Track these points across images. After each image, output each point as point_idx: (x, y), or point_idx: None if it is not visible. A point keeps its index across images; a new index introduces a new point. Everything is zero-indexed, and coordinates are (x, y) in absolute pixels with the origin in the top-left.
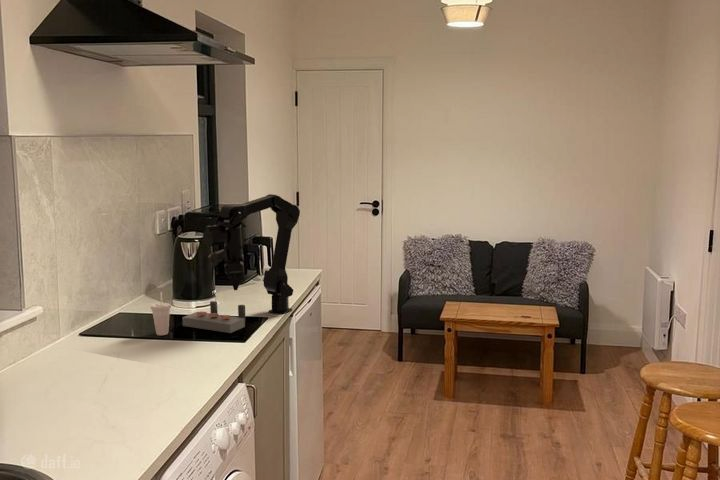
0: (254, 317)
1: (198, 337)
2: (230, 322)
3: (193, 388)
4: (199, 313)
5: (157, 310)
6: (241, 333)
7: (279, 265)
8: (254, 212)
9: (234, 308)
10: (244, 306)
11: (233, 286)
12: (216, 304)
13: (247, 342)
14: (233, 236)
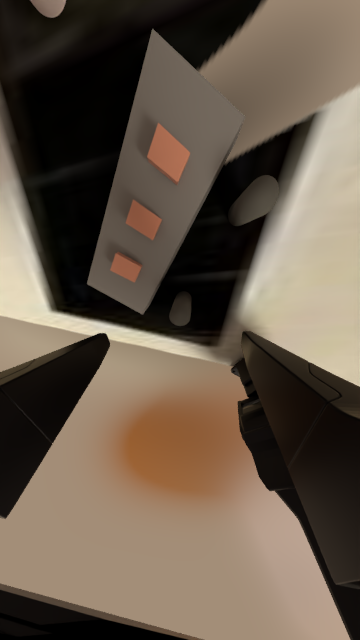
0: (221, 322)
1: (49, 193)
2: (101, 283)
3: None
4: (151, 145)
5: None
6: (103, 302)
7: (308, 540)
8: None
9: (339, 268)
10: (175, 323)
11: (78, 344)
12: (246, 216)
13: (53, 315)
14: None
